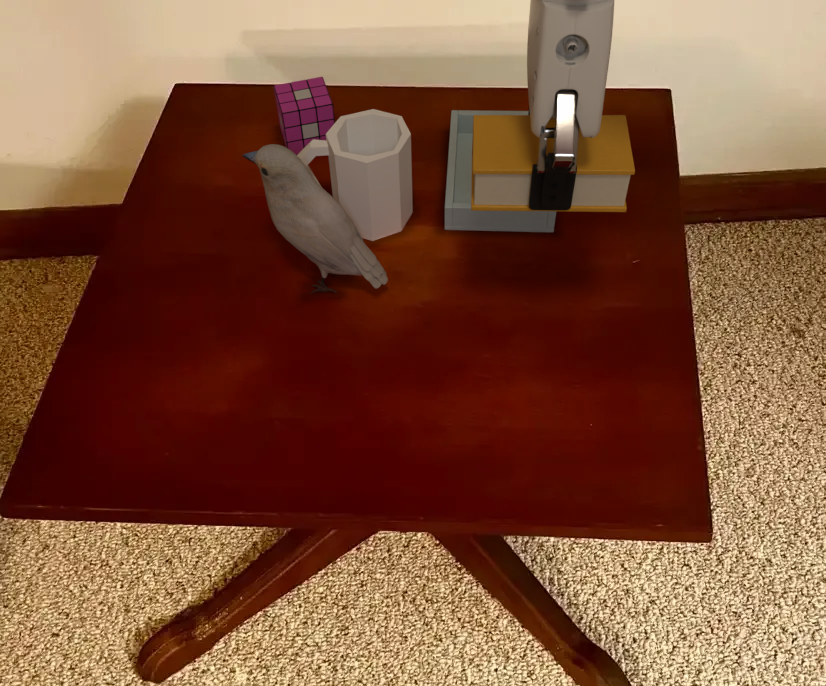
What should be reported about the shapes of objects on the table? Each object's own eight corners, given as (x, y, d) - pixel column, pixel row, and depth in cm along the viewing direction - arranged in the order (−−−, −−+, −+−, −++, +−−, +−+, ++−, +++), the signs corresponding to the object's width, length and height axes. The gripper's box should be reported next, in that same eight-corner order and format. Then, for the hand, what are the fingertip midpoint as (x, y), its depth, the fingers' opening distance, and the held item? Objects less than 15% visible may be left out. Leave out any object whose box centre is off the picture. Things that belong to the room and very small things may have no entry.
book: (617, 156, 72) (625, 114, 69) (626, 212, 68) (635, 170, 65) (471, 155, 73) (473, 114, 70) (471, 210, 69) (472, 169, 66)
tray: (548, 133, 99) (551, 110, 97) (553, 232, 89) (556, 210, 86) (451, 132, 100) (451, 109, 98) (444, 230, 90) (444, 207, 88)
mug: (414, 187, 94) (412, 108, 87) (410, 241, 89) (408, 163, 81) (304, 186, 96) (293, 109, 88) (294, 240, 90) (281, 162, 83)
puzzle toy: (280, 127, 103) (273, 85, 98) (327, 118, 103) (322, 75, 99) (288, 156, 99) (281, 113, 95) (337, 147, 100) (332, 103, 95)
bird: (275, 248, 90) (252, 124, 78) (397, 279, 86) (391, 154, 74) (253, 279, 87) (225, 156, 75) (378, 314, 83) (368, 189, 71)
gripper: (650, 25, 51) (603, 251, 64) (621, -106, 61) (586, 111, 75) (520, 26, 51) (501, 249, 65) (513, -104, 62) (498, 111, 76)
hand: (547, 174), depth 70 cm, fingers closed on book, 7 cm apart
